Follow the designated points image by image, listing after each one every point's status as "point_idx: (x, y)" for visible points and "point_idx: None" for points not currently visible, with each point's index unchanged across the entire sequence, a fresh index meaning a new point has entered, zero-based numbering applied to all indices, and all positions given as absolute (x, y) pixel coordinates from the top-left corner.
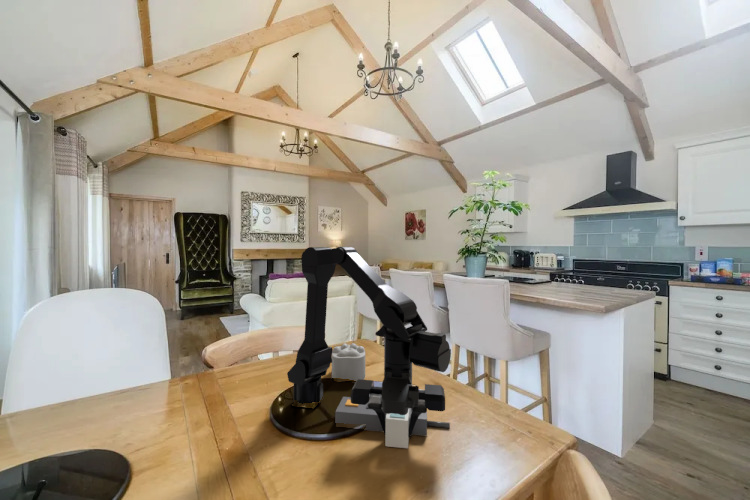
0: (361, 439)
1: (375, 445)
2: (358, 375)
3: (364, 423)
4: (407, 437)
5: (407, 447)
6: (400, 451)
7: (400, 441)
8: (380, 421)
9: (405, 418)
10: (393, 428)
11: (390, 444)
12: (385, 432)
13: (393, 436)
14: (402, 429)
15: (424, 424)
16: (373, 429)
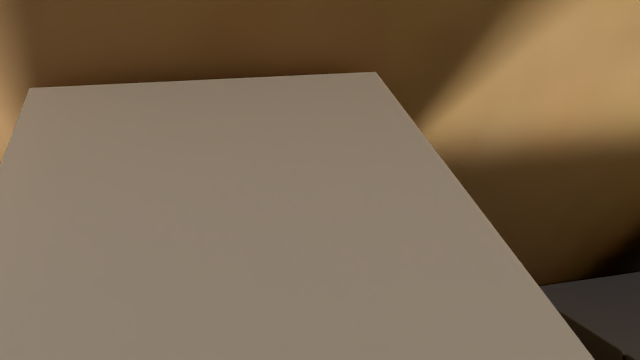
0: (632, 143)
1: (493, 75)
2: None
3: (619, 332)
4: (3, 184)
5: (36, 95)
6: (142, 15)
7: (156, 130)
8: (607, 349)
9: None
10: (333, 258)
11: (311, 89)
12: (457, 180)
13: (292, 161)
14: (109, 285)
15: None
16: None
